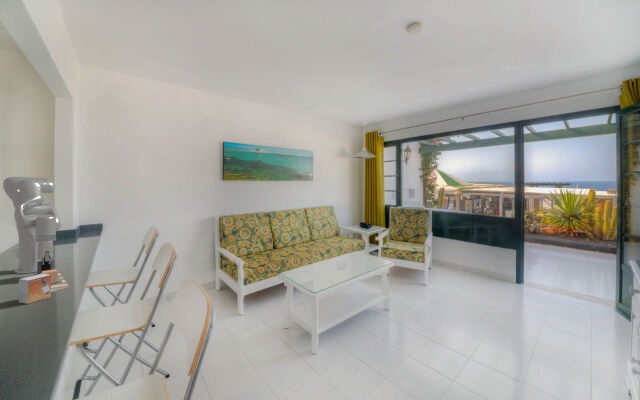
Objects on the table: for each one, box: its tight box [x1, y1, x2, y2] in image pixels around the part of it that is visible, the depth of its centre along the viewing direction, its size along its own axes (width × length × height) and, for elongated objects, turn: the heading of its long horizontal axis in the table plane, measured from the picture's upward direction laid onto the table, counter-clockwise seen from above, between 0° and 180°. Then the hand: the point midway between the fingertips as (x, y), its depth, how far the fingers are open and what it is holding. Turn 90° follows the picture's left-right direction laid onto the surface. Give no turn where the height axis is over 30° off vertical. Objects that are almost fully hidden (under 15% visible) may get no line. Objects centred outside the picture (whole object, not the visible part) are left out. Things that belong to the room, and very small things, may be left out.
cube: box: [42, 268, 58, 282], centre depth 126 cm, size 5×5×5 cm
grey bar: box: [33, 259, 62, 284], centre depth 130 cm, size 22×8×8 cm, turn 53°
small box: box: [18, 274, 52, 305], centre depth 110 cm, size 8×6×10 cm
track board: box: [29, 271, 70, 293], centre depth 128 cm, size 33×11×1 cm, turn 53°
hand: (45, 270), depth 136 cm, fingers closed on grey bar, 2 cm apart
